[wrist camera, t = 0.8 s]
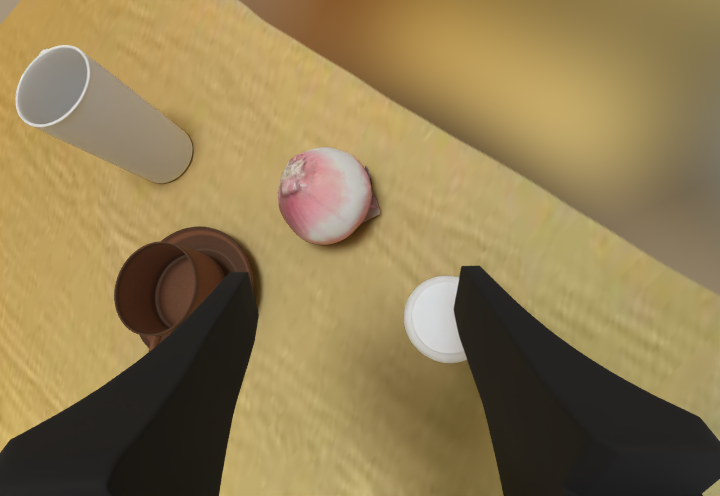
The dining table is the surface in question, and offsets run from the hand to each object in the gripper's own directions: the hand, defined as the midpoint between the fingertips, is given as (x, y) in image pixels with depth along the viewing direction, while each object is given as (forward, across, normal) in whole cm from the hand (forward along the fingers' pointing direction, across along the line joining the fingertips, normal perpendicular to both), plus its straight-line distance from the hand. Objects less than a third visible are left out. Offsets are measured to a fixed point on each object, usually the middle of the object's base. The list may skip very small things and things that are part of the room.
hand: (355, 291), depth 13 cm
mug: (+30, +20, +5) cm, 36 cm away
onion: (+20, +1, +8) cm, 22 cm away
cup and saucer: (+17, +14, +15) cm, 27 cm away
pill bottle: (+11, -7, +13) cm, 19 cm away
